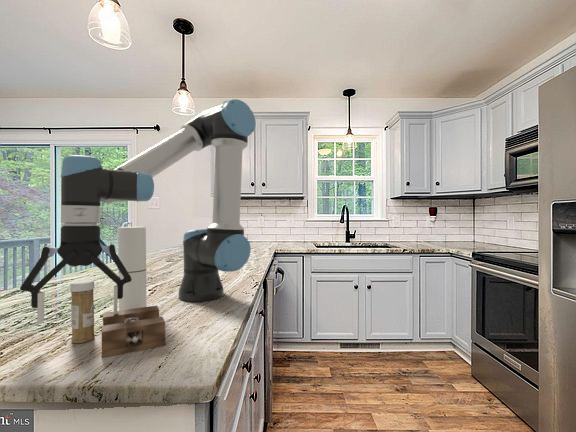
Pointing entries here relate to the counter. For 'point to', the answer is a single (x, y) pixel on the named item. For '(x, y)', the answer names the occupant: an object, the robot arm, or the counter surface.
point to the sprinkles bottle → (82, 311)
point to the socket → (132, 330)
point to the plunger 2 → (134, 336)
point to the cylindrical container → (133, 266)
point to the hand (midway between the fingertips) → (79, 318)
